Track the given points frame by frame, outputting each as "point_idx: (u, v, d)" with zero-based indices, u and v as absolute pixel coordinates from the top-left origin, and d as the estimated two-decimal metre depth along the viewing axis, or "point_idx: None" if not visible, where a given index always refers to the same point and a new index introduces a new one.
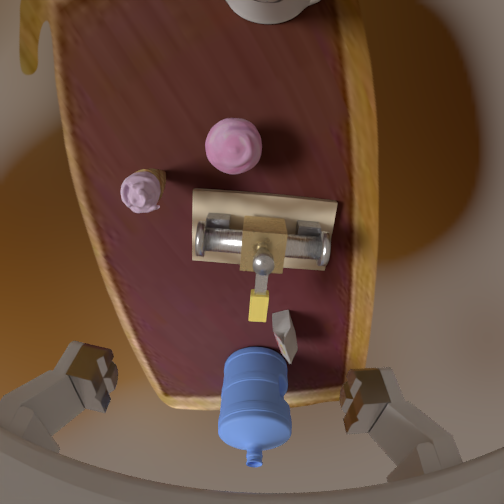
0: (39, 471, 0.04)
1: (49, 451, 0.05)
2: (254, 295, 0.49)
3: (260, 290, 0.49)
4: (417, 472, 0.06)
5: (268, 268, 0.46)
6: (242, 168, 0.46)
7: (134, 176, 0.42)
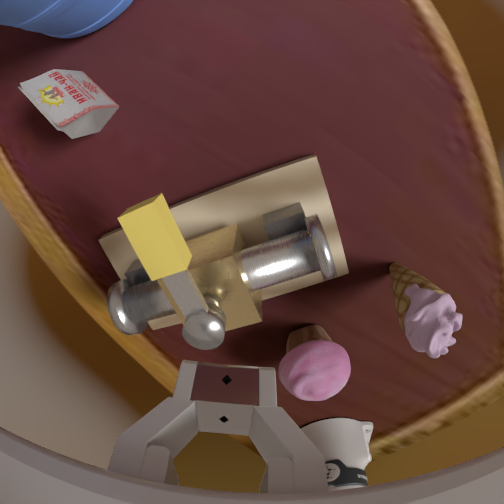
0: (39, 471, 0.04)
1: (49, 451, 0.05)
2: (179, 270, 0.21)
3: (176, 280, 0.22)
4: (266, 489, 0.06)
5: (192, 333, 0.23)
6: (296, 371, 0.33)
7: None
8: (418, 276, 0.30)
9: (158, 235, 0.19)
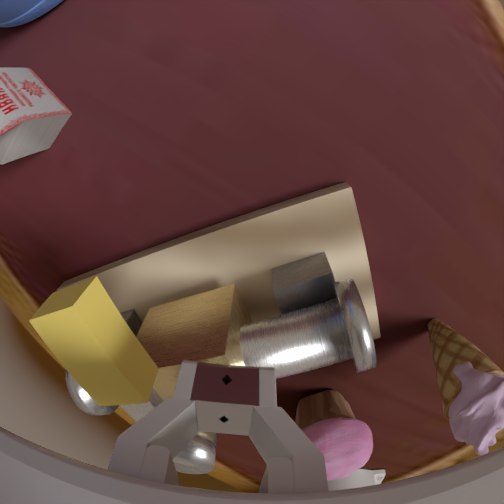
0: (39, 471, 0.04)
1: (49, 451, 0.05)
2: (137, 400, 0.11)
3: (135, 405, 0.12)
4: (266, 489, 0.06)
5: None
6: None
7: None
8: (469, 346, 0.20)
9: (93, 355, 0.10)
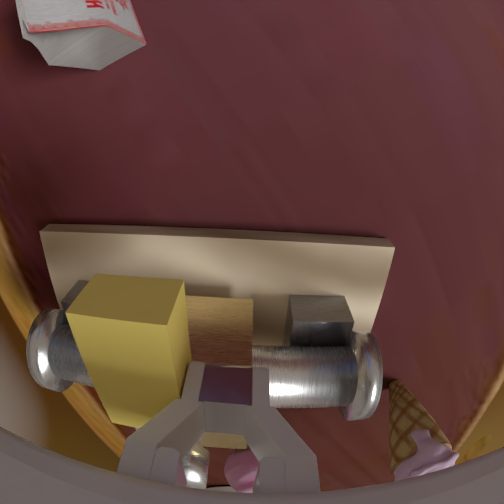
0: (39, 471, 0.04)
1: (49, 451, 0.05)
2: None
3: None
4: (257, 489, 0.06)
5: None
6: (251, 478, 0.22)
7: None
8: (427, 415, 0.22)
9: (153, 381, 0.08)
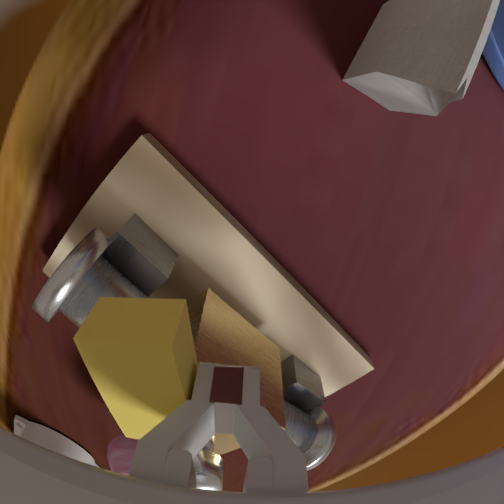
0: (39, 471, 0.04)
1: (49, 451, 0.05)
2: None
3: None
4: (246, 488, 0.06)
5: None
6: None
7: None
8: None
9: (162, 398, 0.08)
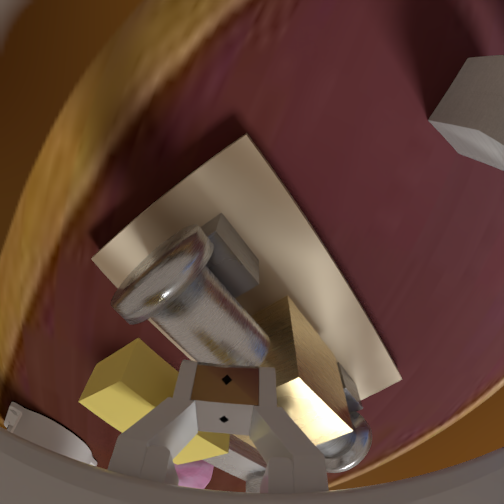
0: (39, 471, 0.04)
1: (49, 451, 0.05)
2: (217, 452, 0.10)
3: None
4: (266, 489, 0.06)
5: None
6: (176, 469, 0.22)
7: None
8: None
9: None
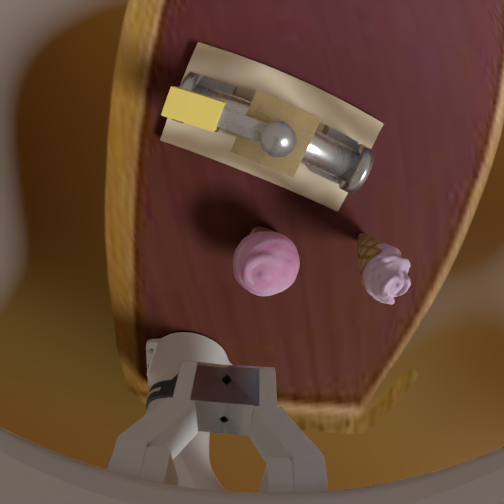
0: (39, 471, 0.04)
1: (49, 451, 0.05)
2: (222, 109, 0.25)
3: (228, 120, 0.26)
4: (266, 489, 0.06)
5: (271, 146, 0.26)
6: (263, 247, 0.38)
7: (381, 302, 0.36)
8: None
9: (190, 99, 0.24)
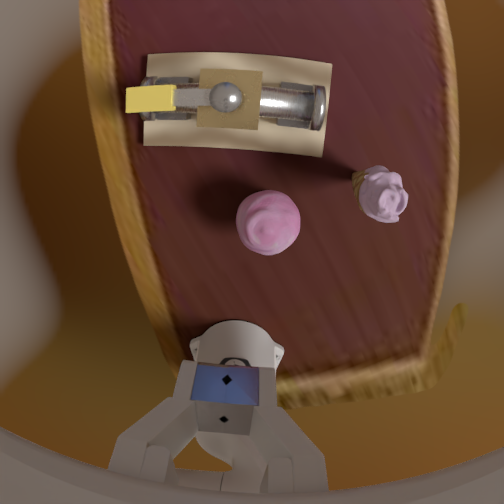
0: (39, 471, 0.04)
1: (49, 451, 0.05)
2: (171, 90, 0.28)
3: (180, 97, 0.28)
4: (266, 489, 0.06)
5: (221, 104, 0.28)
6: (257, 205, 0.39)
7: (385, 222, 0.35)
8: None
9: (144, 92, 0.28)
